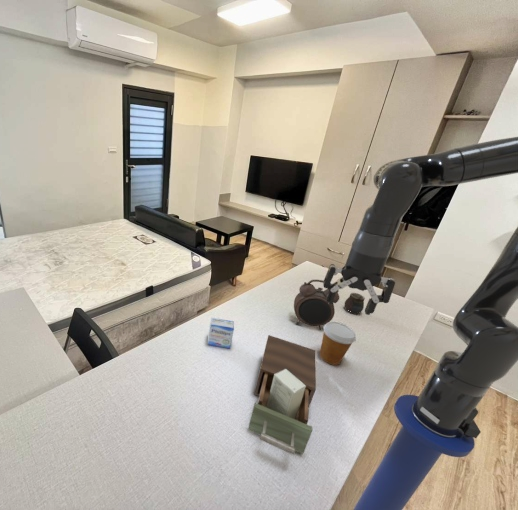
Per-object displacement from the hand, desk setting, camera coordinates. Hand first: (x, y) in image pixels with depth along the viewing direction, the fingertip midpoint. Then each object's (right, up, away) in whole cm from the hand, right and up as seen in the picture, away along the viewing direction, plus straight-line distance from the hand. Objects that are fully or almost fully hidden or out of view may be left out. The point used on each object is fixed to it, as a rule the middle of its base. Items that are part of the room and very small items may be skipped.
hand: (347, 308), depth 71 cm
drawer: (-19, -29, -2) cm, 35 cm away
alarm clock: (+9, -15, +40) cm, 44 cm away
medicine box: (-30, -17, +26) cm, 43 cm away
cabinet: (-13, -25, +11) cm, 30 cm away
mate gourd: (+34, -12, +52) cm, 64 cm away
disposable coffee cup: (+8, -22, +23) cm, 33 cm away
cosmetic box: (-18, -27, -1) cm, 33 cm away
